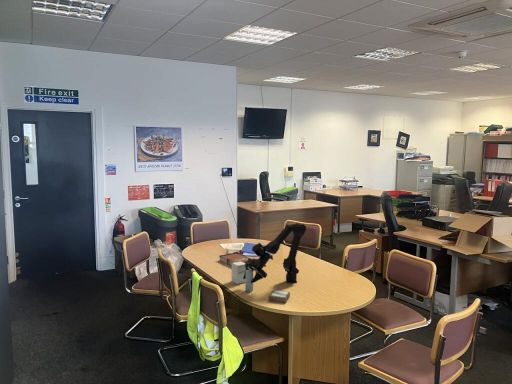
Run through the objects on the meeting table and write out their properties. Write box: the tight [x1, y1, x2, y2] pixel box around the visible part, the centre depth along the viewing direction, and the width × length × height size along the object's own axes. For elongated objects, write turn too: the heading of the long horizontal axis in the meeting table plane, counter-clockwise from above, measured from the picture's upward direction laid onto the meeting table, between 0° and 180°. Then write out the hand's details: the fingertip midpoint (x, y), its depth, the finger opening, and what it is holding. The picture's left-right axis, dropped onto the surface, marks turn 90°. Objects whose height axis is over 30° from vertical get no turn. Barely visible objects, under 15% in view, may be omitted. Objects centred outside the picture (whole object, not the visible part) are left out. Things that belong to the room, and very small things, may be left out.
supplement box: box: [231, 261, 246, 285], centre depth 262 cm, size 7×7×13 cm
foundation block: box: [268, 289, 291, 304], centre depth 234 cm, size 10×10×3 cm
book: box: [218, 251, 255, 267], centre depth 305 cm, size 26×18×5 cm
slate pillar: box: [244, 270, 254, 293], centre depth 246 cm, size 5×5×12 cm
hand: (247, 280), depth 245 cm, fingers open, 9 cm apart
